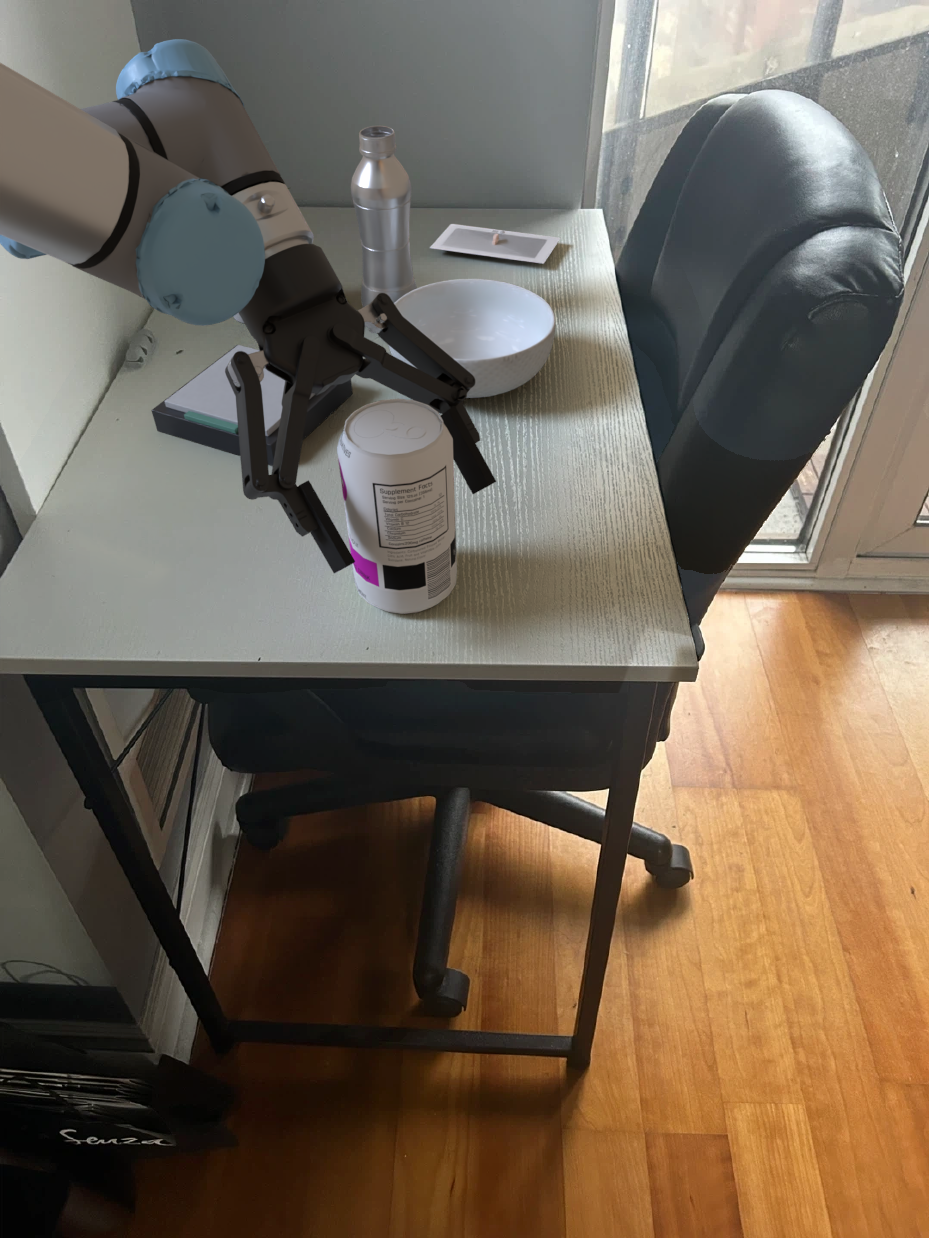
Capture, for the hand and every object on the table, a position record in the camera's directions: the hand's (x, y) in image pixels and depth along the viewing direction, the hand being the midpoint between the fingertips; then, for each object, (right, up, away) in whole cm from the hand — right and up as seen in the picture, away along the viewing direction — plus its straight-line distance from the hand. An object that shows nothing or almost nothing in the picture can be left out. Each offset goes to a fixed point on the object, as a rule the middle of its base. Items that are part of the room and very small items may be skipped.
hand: (417, 526), depth 70 cm
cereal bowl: (+4, +18, +28) cm, 34 cm away
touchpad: (+7, +40, +50) cm, 65 cm away
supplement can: (-1, -4, +6) cm, 7 cm away
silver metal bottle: (-5, +27, +38) cm, 47 cm away
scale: (-17, +14, +24) cm, 33 cm away
